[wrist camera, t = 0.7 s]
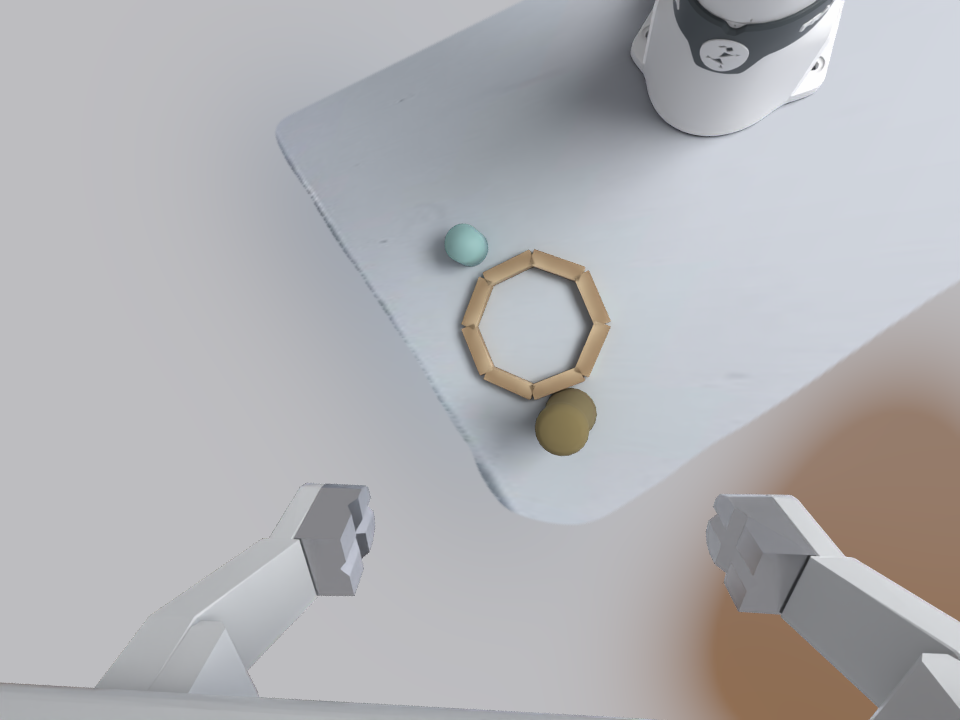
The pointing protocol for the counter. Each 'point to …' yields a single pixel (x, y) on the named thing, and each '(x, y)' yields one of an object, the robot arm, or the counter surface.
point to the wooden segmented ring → (515, 268)
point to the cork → (565, 422)
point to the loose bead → (466, 245)
